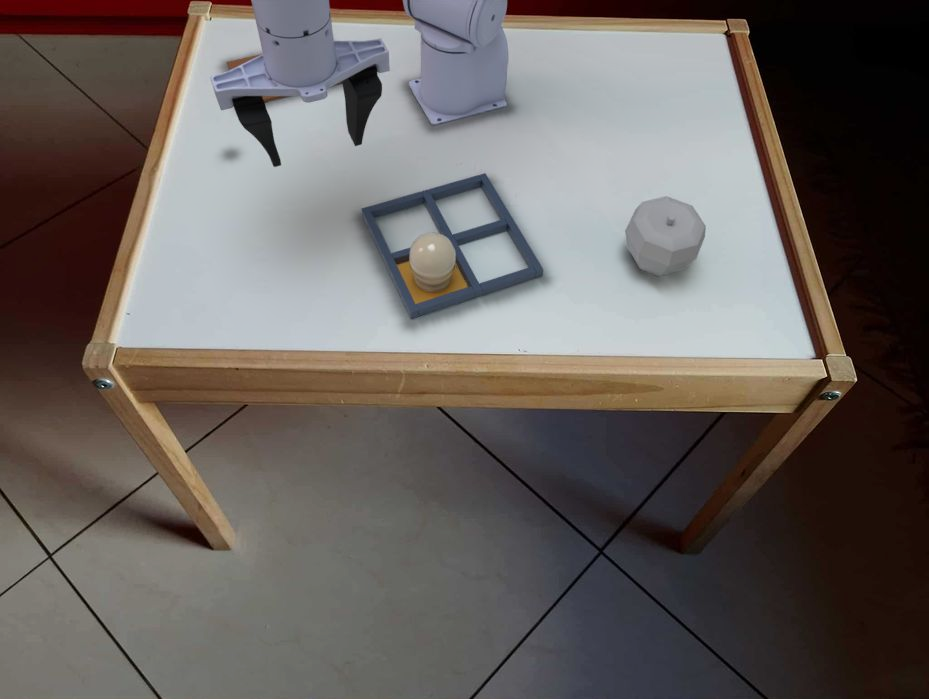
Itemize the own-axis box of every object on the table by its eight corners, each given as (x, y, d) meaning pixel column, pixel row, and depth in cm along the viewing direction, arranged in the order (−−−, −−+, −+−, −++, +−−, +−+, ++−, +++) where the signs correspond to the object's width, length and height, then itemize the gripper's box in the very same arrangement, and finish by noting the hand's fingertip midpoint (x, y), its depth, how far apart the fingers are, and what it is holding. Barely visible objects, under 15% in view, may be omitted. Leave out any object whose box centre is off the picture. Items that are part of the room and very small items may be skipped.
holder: (484, 184, 82) (485, 172, 80) (541, 279, 75) (543, 269, 74) (362, 219, 78) (361, 208, 77) (410, 322, 72) (410, 312, 70)
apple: (614, 227, 79) (628, 183, 74) (688, 233, 79) (708, 189, 74) (618, 288, 75) (633, 246, 69) (696, 294, 75) (718, 252, 69)
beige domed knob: (444, 255, 75) (445, 217, 70) (461, 288, 73) (464, 251, 68) (403, 268, 74) (401, 230, 69) (419, 302, 72) (419, 265, 67)
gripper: (210, 68, 54) (248, 199, 66) (400, 26, 57) (404, 157, 69) (189, 11, 57) (229, 145, 69) (369, -26, 61) (378, 108, 72)
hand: (315, 148), depth 69 cm, fingers open, 7 cm apart
